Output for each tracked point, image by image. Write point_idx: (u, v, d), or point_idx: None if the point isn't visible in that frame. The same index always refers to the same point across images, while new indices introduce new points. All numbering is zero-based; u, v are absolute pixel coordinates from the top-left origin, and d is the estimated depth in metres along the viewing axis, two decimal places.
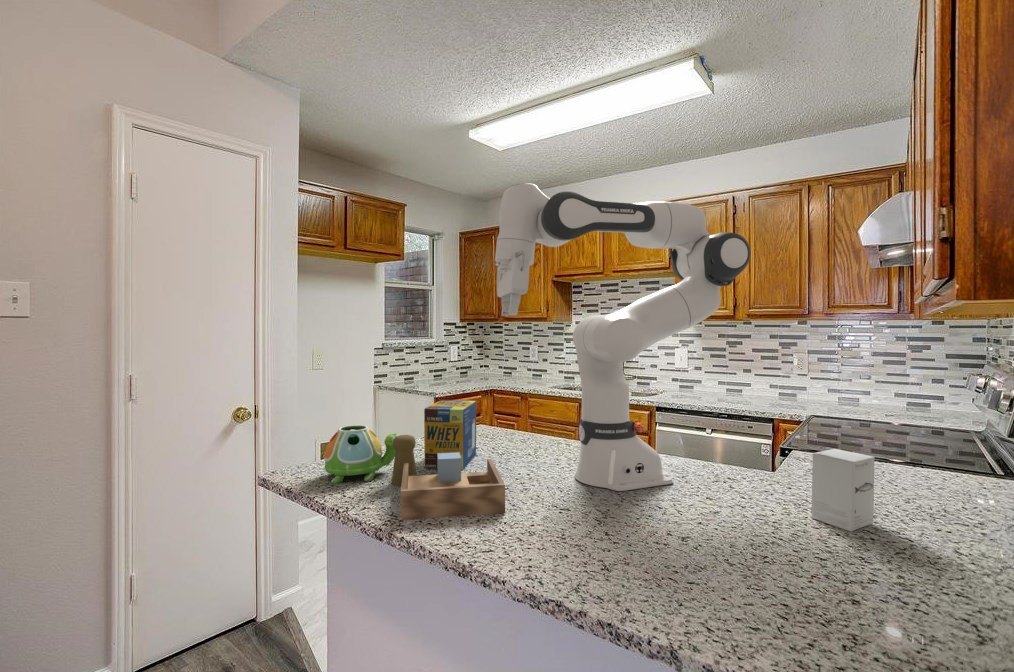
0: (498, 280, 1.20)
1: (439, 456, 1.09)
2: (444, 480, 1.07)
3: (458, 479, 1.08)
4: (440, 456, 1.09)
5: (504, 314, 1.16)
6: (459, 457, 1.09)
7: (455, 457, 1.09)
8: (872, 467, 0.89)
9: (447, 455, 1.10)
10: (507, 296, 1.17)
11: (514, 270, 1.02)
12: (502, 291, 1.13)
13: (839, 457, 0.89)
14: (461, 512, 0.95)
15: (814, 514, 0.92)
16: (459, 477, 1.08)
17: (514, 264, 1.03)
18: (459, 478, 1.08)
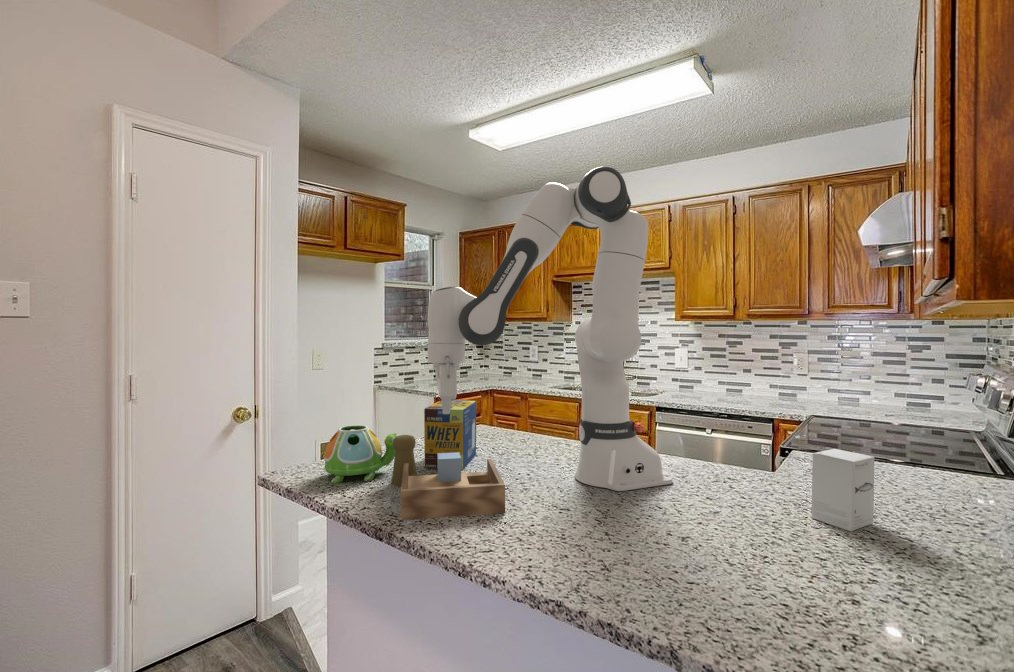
0: (436, 373, 1.25)
1: (439, 456, 1.09)
2: (444, 480, 1.07)
3: (458, 479, 1.08)
4: (440, 456, 1.09)
5: None
6: (459, 457, 1.09)
7: (455, 457, 1.09)
8: (872, 467, 0.89)
9: (447, 455, 1.10)
10: None
11: (441, 379, 1.07)
12: None
13: (839, 457, 0.89)
14: (461, 512, 0.95)
15: (814, 514, 0.92)
16: (459, 477, 1.08)
17: (441, 373, 1.08)
18: (459, 478, 1.08)
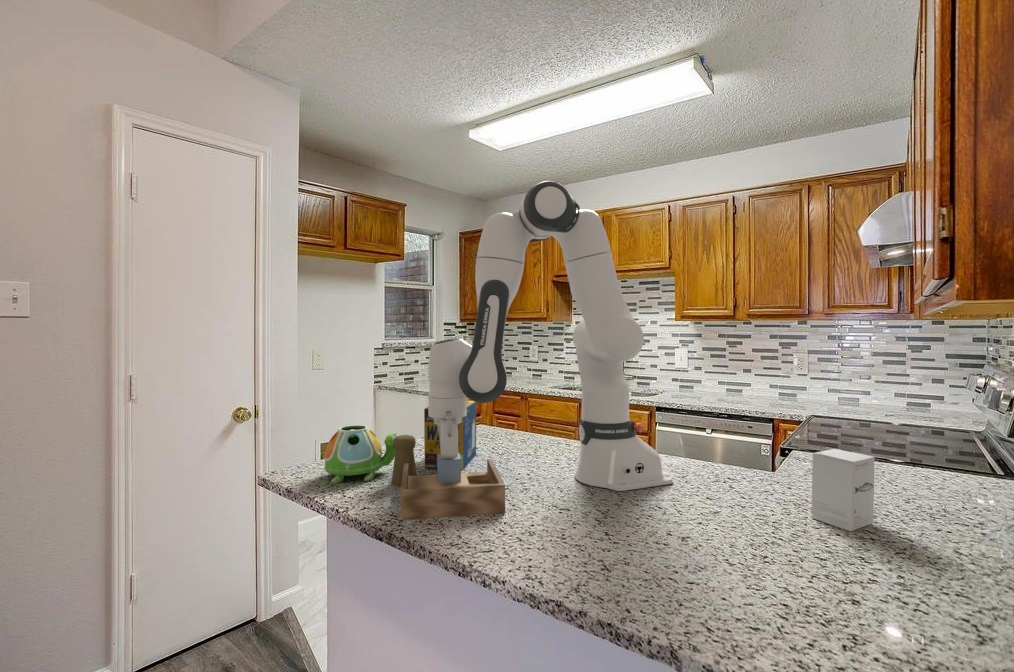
0: None
1: (439, 457, 1.09)
2: (444, 481, 1.07)
3: (458, 480, 1.07)
4: (439, 457, 1.08)
5: None
6: (459, 458, 1.08)
7: (455, 458, 1.08)
8: (872, 467, 0.89)
9: None
10: None
11: (442, 437, 1.04)
12: None
13: (839, 457, 0.89)
14: (461, 512, 0.95)
15: (814, 514, 0.92)
16: (459, 478, 1.07)
17: (442, 431, 1.05)
18: (459, 479, 1.07)
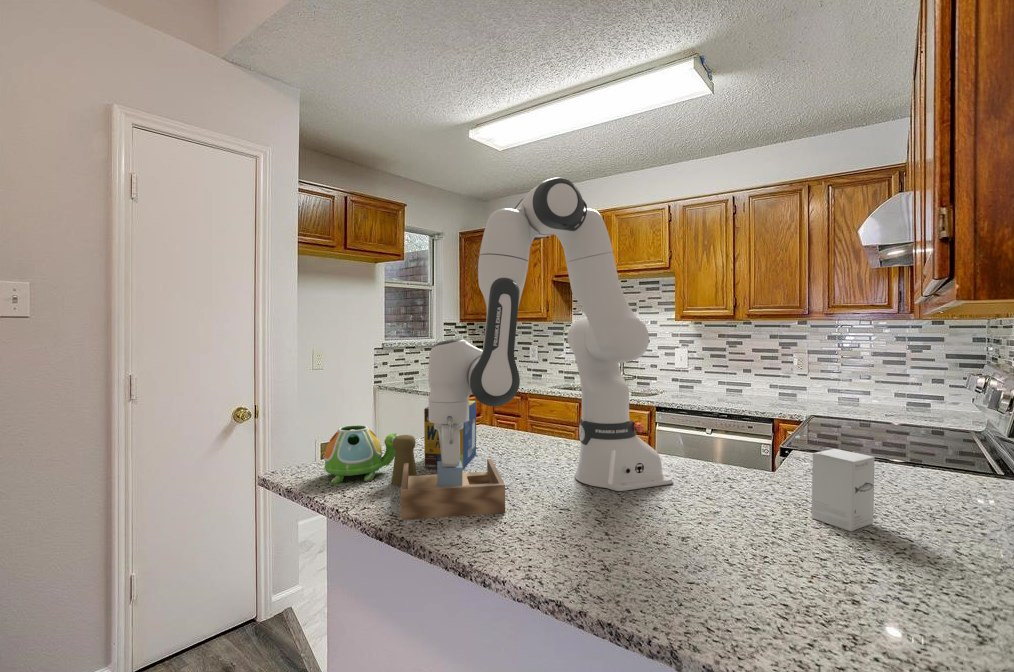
0: None
1: (439, 465, 1.02)
2: None
3: None
4: (440, 465, 1.02)
5: None
6: (460, 466, 1.01)
7: (456, 466, 1.02)
8: (872, 467, 0.89)
9: None
10: None
11: (443, 444, 0.98)
12: (440, 449, 1.09)
13: (839, 457, 0.89)
14: (461, 512, 0.95)
15: (814, 514, 0.92)
16: None
17: (443, 438, 0.98)
18: None
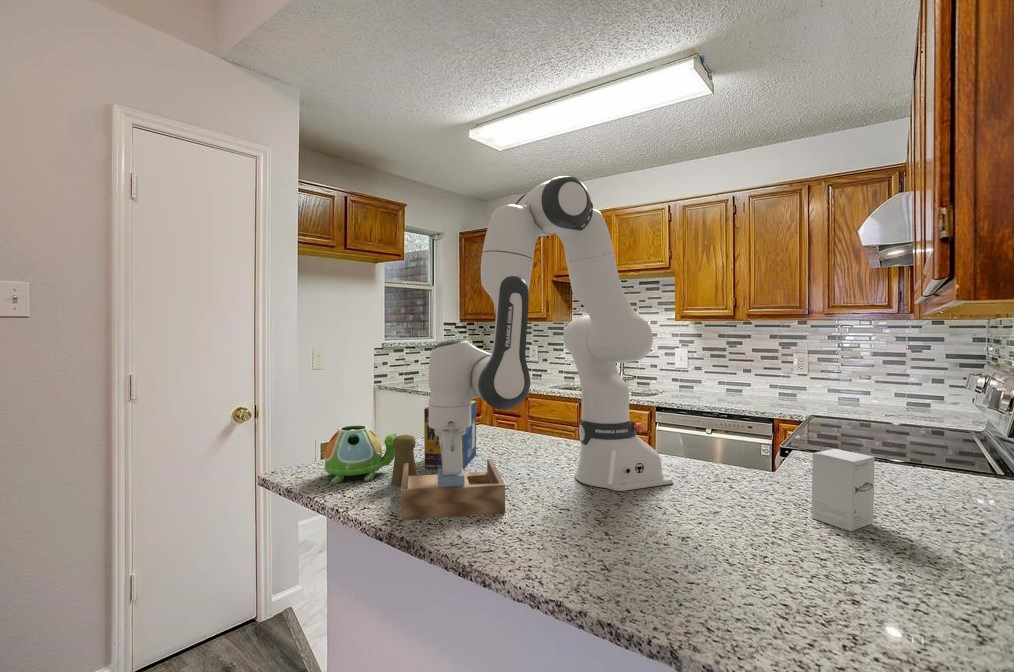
0: None
1: (440, 473, 0.97)
2: None
3: None
4: (440, 473, 0.97)
5: None
6: (462, 474, 0.96)
7: None
8: (872, 467, 0.89)
9: None
10: None
11: (444, 452, 0.92)
12: None
13: (839, 457, 0.89)
14: (461, 512, 0.95)
15: (814, 514, 0.92)
16: None
17: (444, 444, 0.93)
18: None
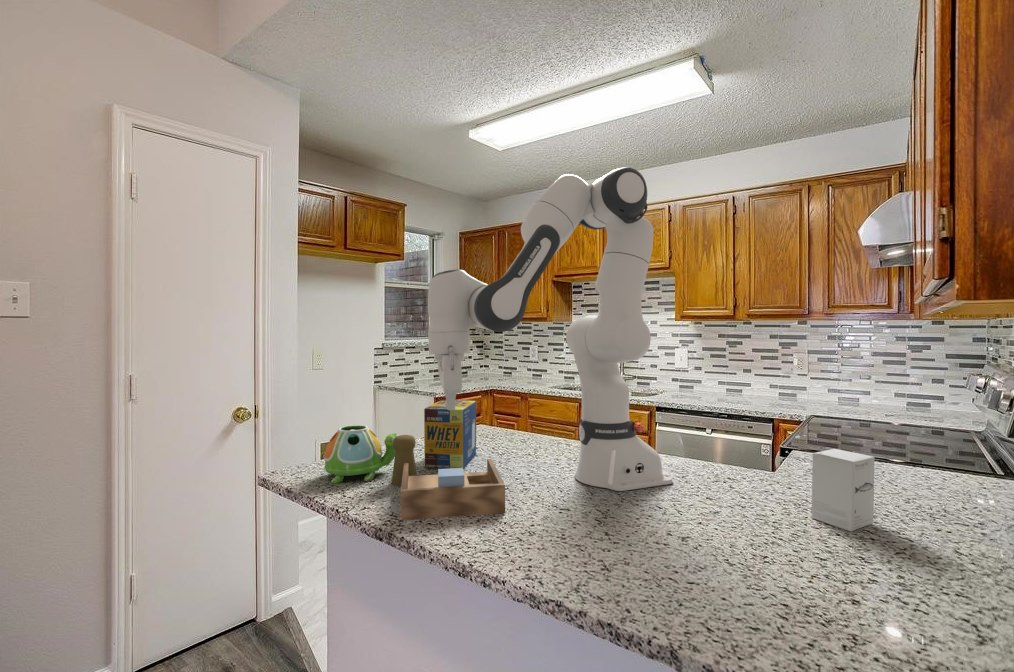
0: (439, 366, 1.14)
1: (440, 473, 0.97)
2: None
3: None
4: (441, 473, 0.97)
5: None
6: (462, 474, 0.96)
7: (458, 474, 0.97)
8: (872, 467, 0.89)
9: (449, 471, 0.98)
10: None
11: (445, 371, 0.96)
12: None
13: (839, 457, 0.89)
14: (461, 512, 0.95)
15: (814, 514, 0.92)
16: None
17: (444, 364, 0.97)
18: None
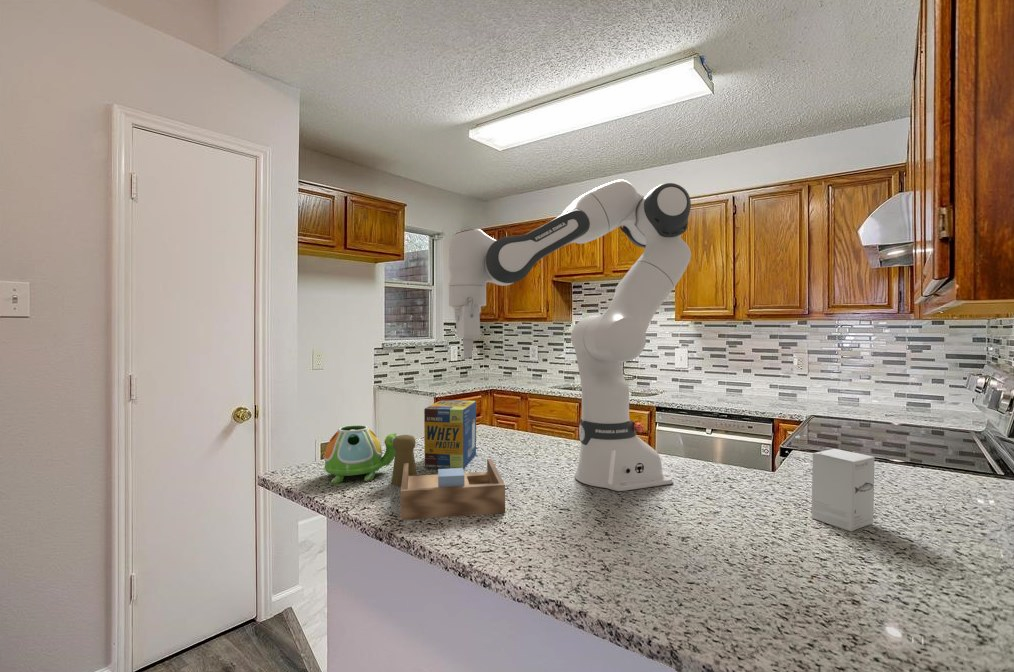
0: (456, 321, 1.24)
1: (440, 473, 0.97)
2: None
3: None
4: (441, 473, 0.97)
5: None
6: (462, 474, 0.96)
7: (458, 474, 0.97)
8: (872, 467, 0.89)
9: (449, 471, 0.98)
10: None
11: (465, 317, 1.07)
12: (459, 334, 1.18)
13: (839, 457, 0.89)
14: (461, 512, 0.95)
15: (814, 514, 0.92)
16: None
17: (464, 312, 1.07)
18: None
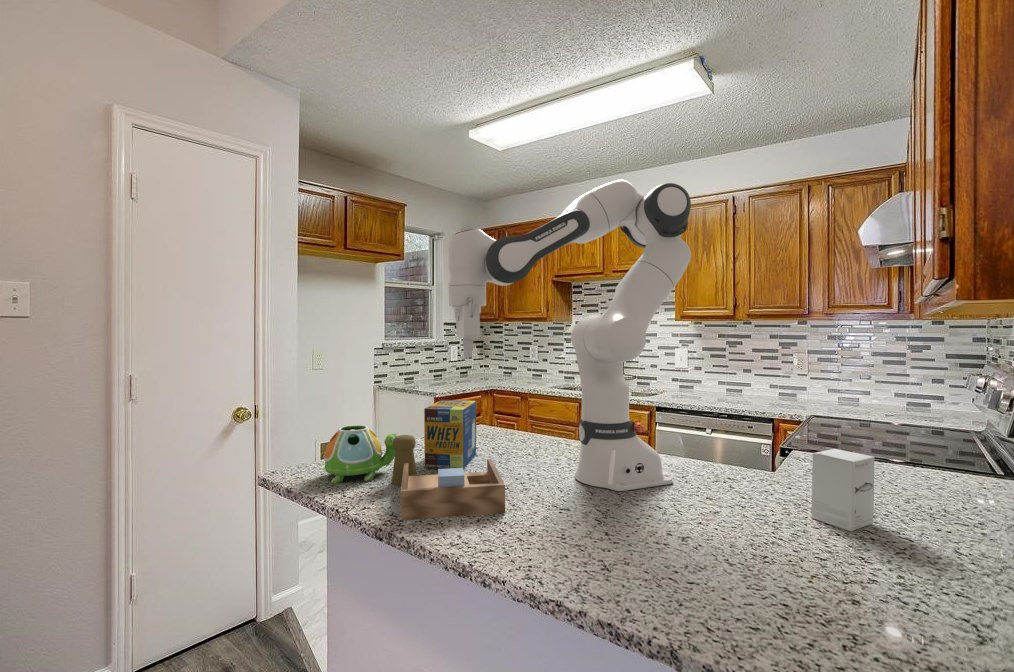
0: (456, 321, 1.24)
1: (440, 473, 0.97)
2: None
3: None
4: (441, 473, 0.97)
5: None
6: (462, 474, 0.96)
7: (458, 474, 0.97)
8: (872, 467, 0.89)
9: (449, 471, 0.98)
10: None
11: (465, 317, 1.07)
12: (459, 333, 1.18)
13: (839, 457, 0.89)
14: (461, 512, 0.95)
15: (814, 514, 0.92)
16: None
17: (464, 312, 1.07)
18: None
